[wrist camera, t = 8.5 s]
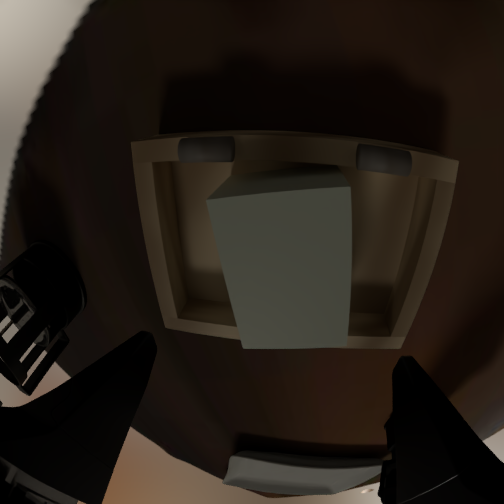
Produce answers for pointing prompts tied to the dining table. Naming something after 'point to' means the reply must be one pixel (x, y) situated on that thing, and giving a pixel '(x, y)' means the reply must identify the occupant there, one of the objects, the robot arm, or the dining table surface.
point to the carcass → (284, 157)
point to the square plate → (298, 472)
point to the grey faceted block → (286, 255)
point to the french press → (37, 311)
